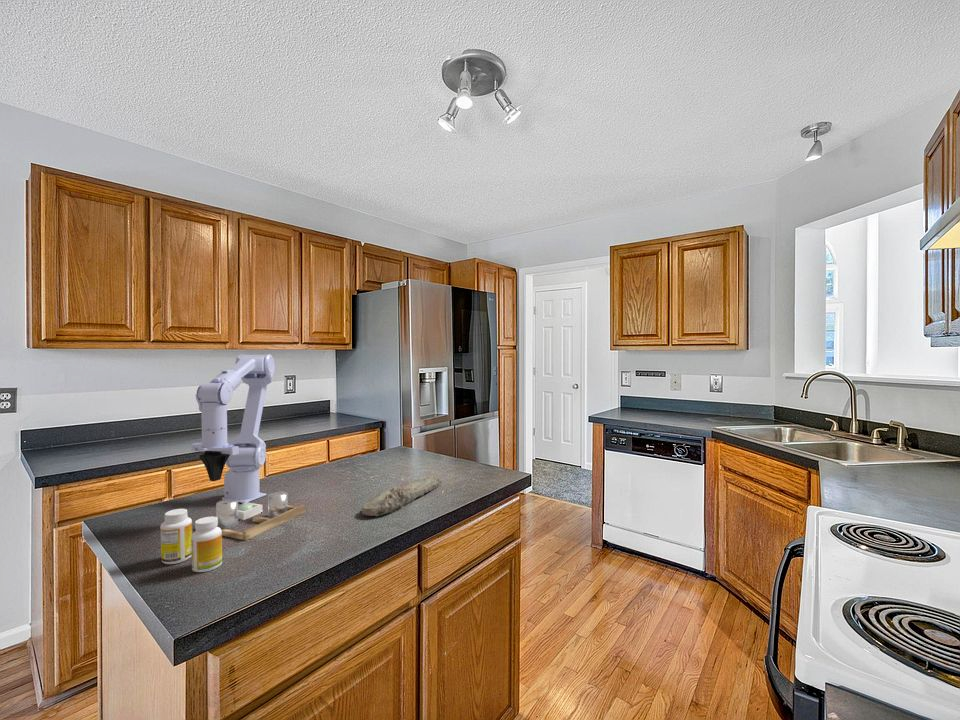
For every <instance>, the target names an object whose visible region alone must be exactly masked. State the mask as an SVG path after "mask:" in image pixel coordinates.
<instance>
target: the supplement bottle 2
mask: <svg viewBox="0 0 960 720" xmlns="http://www.w3.org/2000/svg"><path fill="white" fill-rule="evenodd" d="M217 525H218V518H217V517H216V516H206V517H202V518H201V517H200V518H199V519H197V520H195V522H194V528H195V531H192V536H191V557H190V558H191V570H192V572H195V573H205V572H209V571H213V570H215V569H217V568H219V567H220V566H221V565H222V564H223V536H222V530H223V529H221V528H219V527H217Z"/></svg>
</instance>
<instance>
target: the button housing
mask: <svg viewBox="0 0 960 720" xmlns="http://www.w3.org/2000/svg"><path fill="white" fill-rule="evenodd" d="M246 503H249V502H246ZM250 503H251V504H253V508H251V509H249V510H246V511H240V510H238V520H242V521H245V520H247V519H251V518H253V517H254V516H258V515H259V514H262V513H263V511H264V509H263V508H264V507H263V504H259V503H253V502H250ZM241 504H245V503H241ZM241 504H240V503H239V505H241ZM261 512H262V513H261Z"/></svg>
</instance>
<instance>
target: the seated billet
mask: <svg viewBox="0 0 960 720" xmlns="http://www.w3.org/2000/svg"><path fill="white" fill-rule="evenodd" d="M288 498H289V497H288V492H287V491H284V490H283V491H282V490H281V491H274V492H271V493H268V494H267V518H273V517H276V516H278V515H280V514H282V513H285V512H287V511H288V505H289V504H288V501H289V500H288Z"/></svg>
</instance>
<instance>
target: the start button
mask: <svg viewBox="0 0 960 720" xmlns="http://www.w3.org/2000/svg"><path fill="white" fill-rule="evenodd" d="M251 503H252V502H248V503H245V504H243V503H241V505H240V504H238V510H240V511H246V510H249V509H251V508H253V504H251Z"/></svg>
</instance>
